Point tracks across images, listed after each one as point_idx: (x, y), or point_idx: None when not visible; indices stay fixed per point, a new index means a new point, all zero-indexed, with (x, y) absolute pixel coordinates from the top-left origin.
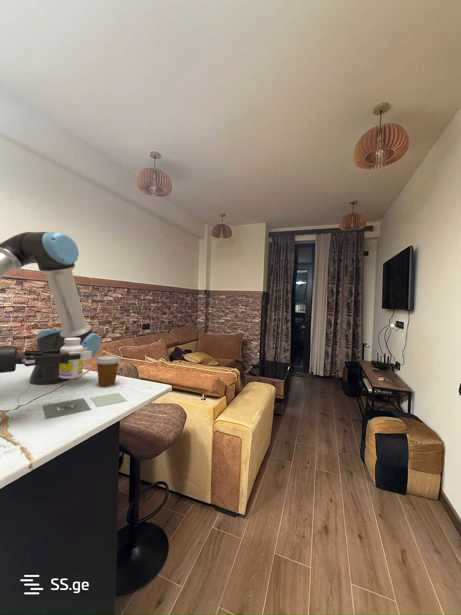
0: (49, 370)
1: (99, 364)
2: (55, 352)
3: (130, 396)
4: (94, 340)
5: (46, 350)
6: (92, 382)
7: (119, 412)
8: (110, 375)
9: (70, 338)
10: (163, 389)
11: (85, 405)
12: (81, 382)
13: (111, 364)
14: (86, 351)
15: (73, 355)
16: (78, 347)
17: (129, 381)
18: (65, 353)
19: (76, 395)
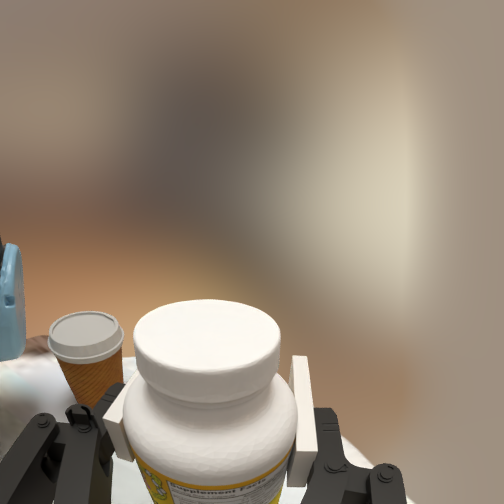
0: None
1: (82, 364)
2: (97, 488)
3: None
4: (19, 274)
5: (14, 496)
6: (51, 410)
7: (355, 459)
8: (120, 382)
9: (185, 333)
10: None
11: None
12: (24, 420)
13: (118, 350)
14: (295, 371)
15: (339, 440)
16: (279, 376)
17: (133, 368)
18: (274, 471)
19: (116, 494)
